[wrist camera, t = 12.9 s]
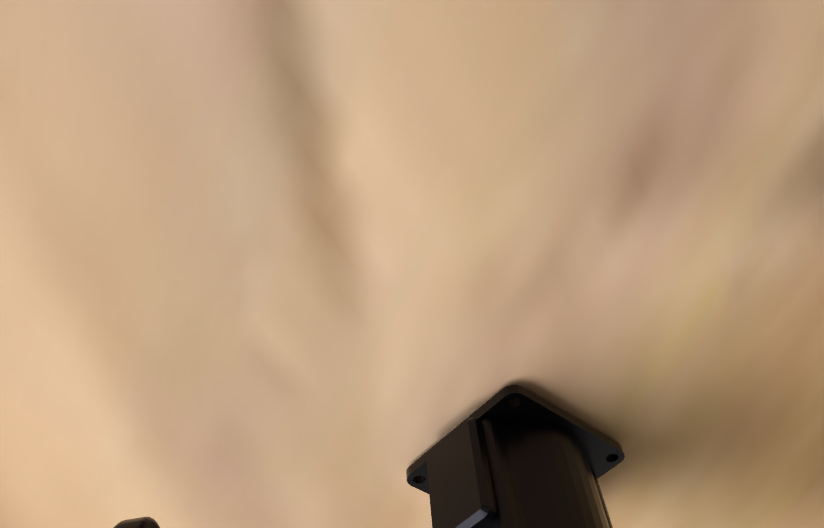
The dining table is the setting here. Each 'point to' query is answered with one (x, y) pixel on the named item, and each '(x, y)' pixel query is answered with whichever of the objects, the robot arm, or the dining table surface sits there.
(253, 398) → the dining table surface
